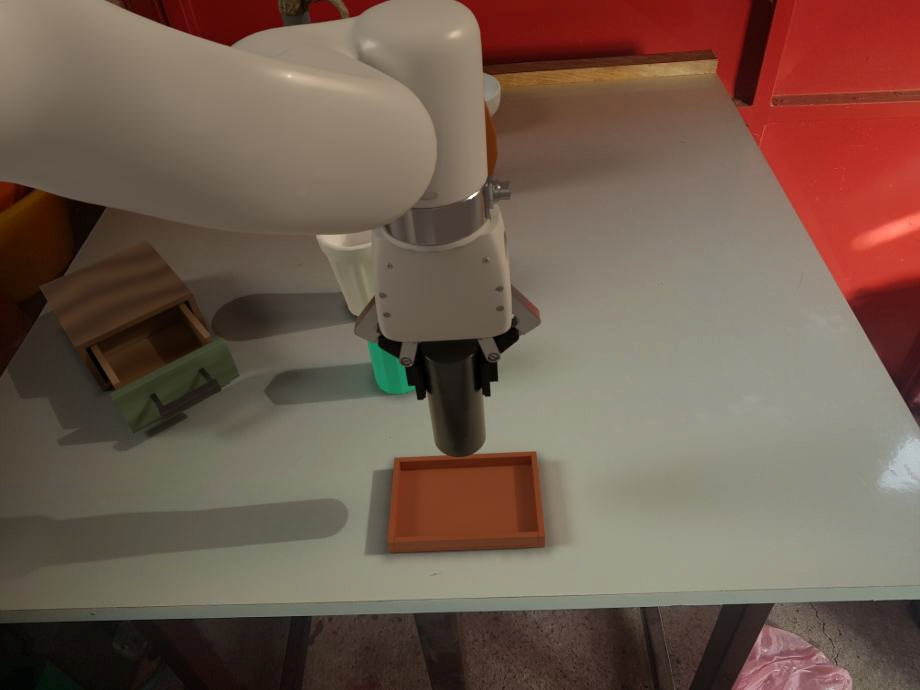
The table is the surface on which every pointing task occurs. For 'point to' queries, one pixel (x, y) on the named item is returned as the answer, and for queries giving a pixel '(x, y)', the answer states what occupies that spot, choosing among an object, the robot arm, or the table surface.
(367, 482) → the table surface
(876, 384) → the table surface
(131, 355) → the drawer
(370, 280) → the cup
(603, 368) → the table surface
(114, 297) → the cabinet
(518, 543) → the tray
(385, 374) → the candle
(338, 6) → the pitcher
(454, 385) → the cylinder
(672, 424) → the table surface
